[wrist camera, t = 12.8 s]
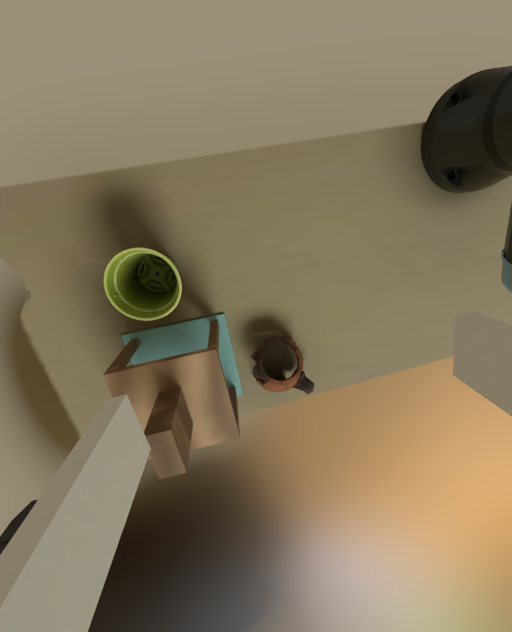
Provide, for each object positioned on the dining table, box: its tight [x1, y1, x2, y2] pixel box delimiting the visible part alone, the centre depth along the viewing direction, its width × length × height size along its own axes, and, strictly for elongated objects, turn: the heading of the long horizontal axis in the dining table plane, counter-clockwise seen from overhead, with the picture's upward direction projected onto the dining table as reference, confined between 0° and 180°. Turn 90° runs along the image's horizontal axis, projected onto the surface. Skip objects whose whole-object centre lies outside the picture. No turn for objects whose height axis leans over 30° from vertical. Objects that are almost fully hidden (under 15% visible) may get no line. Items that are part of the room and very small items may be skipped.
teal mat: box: [121, 314, 243, 396], centre depth 49 cm, size 17×16×1 cm
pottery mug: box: [251, 337, 314, 394], centre depth 49 cm, size 12×10×8 cm
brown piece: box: [103, 320, 240, 479], centre depth 40 cm, size 14×14×20 cm
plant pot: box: [104, 248, 182, 321], centre depth 40 cm, size 9×9×9 cm
